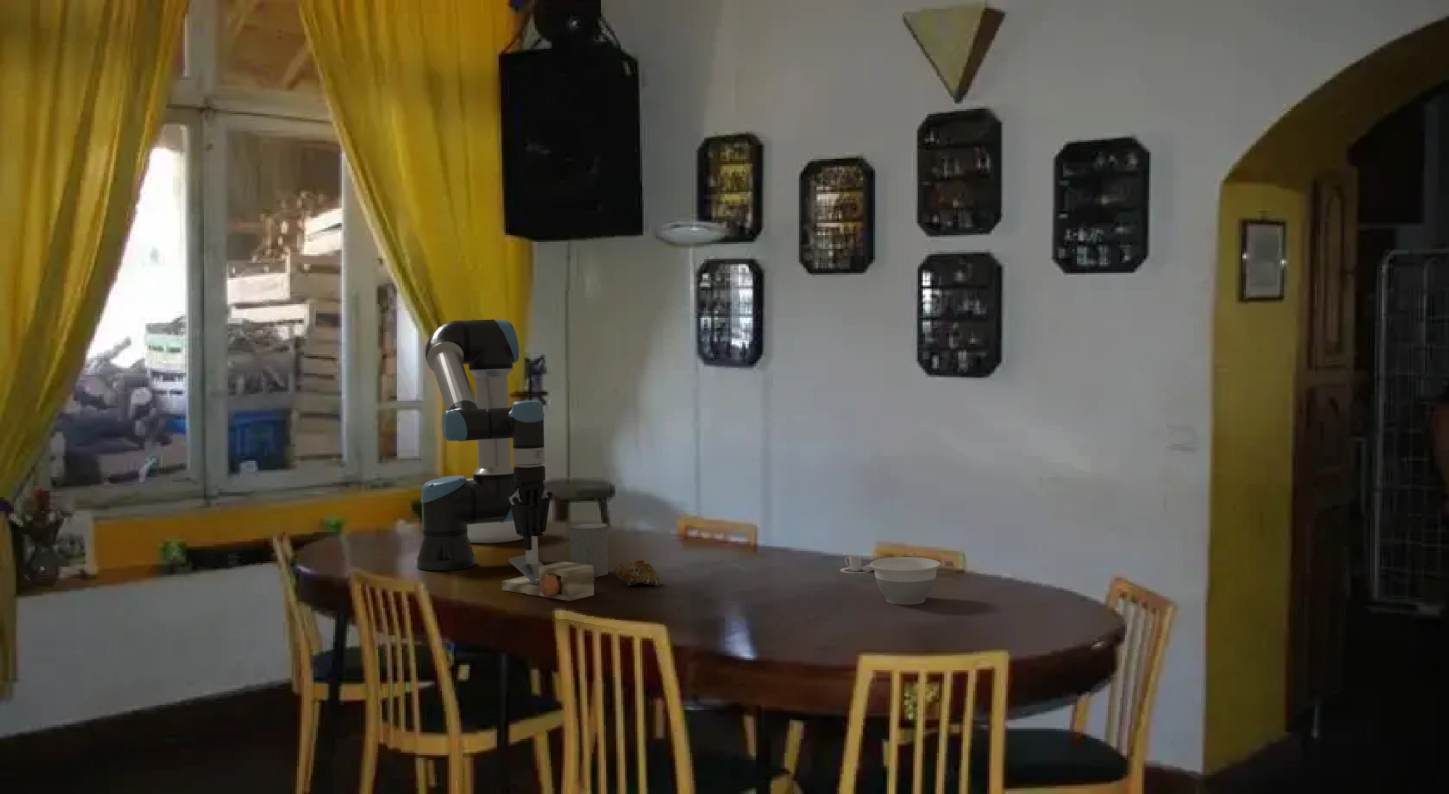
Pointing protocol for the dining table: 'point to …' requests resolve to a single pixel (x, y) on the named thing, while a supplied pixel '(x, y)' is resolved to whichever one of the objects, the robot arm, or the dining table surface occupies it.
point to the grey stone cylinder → (590, 546)
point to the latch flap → (527, 568)
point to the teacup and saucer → (856, 564)
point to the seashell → (637, 573)
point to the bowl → (905, 578)
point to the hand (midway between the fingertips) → (532, 563)
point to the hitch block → (573, 581)
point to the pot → (492, 532)
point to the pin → (551, 585)
